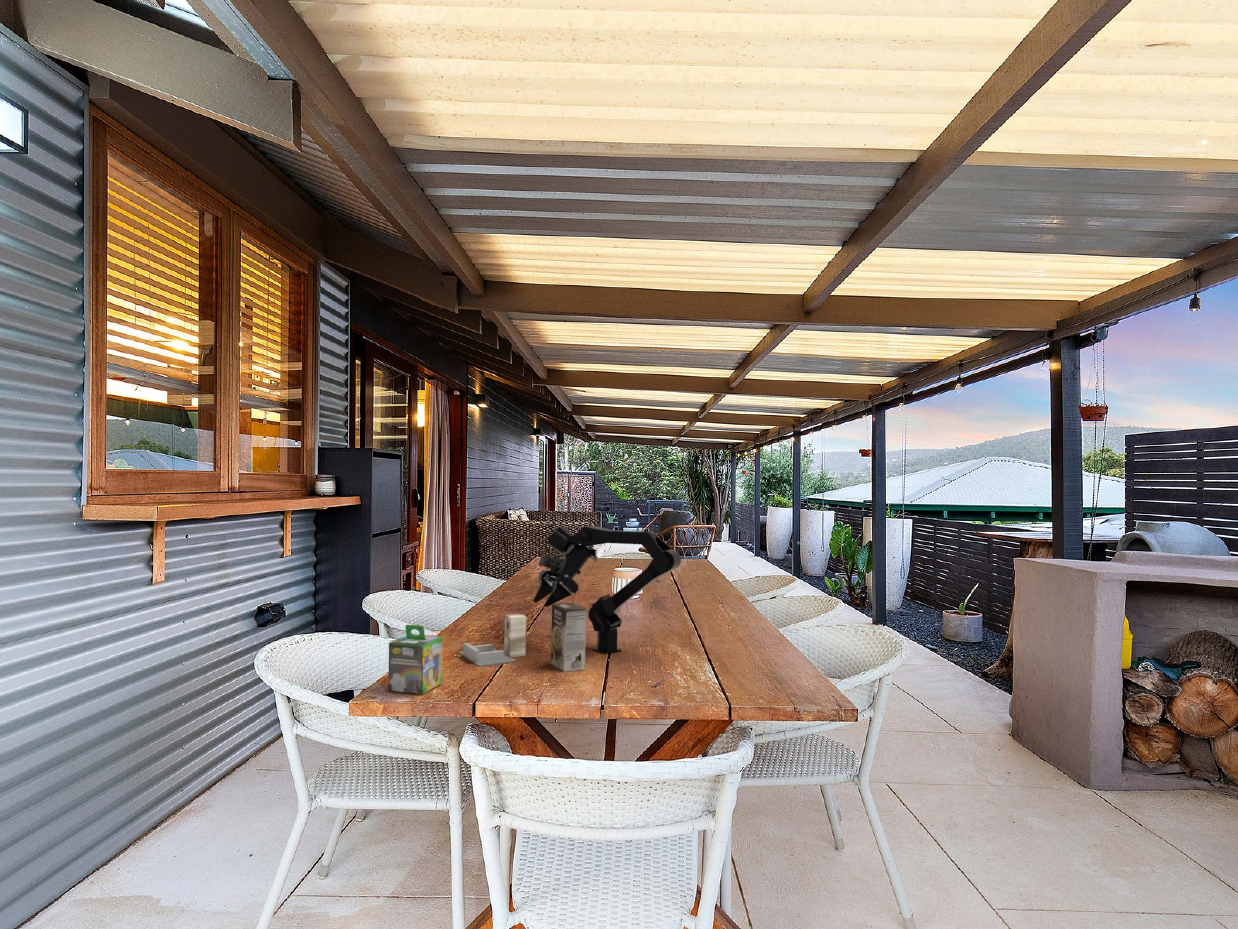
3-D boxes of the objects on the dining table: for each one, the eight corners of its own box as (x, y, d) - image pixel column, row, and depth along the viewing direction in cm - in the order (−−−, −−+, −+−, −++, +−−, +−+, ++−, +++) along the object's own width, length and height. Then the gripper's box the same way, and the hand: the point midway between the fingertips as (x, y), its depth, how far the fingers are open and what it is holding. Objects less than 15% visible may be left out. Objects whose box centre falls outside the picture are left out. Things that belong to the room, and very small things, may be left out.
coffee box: (549, 663, 182) (551, 603, 182) (571, 661, 185) (572, 601, 185) (563, 672, 174) (564, 609, 174) (586, 669, 177) (587, 607, 177)
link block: (525, 655, 190) (526, 616, 190) (509, 657, 187) (510, 617, 188) (518, 652, 194) (519, 613, 194) (503, 654, 191) (504, 614, 191)
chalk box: (443, 684, 161) (444, 622, 162) (421, 695, 152) (423, 629, 153) (409, 680, 164) (410, 619, 164) (386, 691, 155) (388, 626, 155)
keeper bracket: (515, 662, 182) (515, 649, 183) (479, 667, 177) (479, 653, 177) (493, 649, 196) (494, 637, 196) (459, 653, 191) (459, 641, 191)
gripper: (543, 543, 207) (510, 582, 201) (567, 546, 190) (530, 589, 184) (568, 567, 210) (535, 606, 204) (593, 572, 193) (558, 615, 188)
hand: (539, 604), depth 195 cm, fingers open, 9 cm apart
